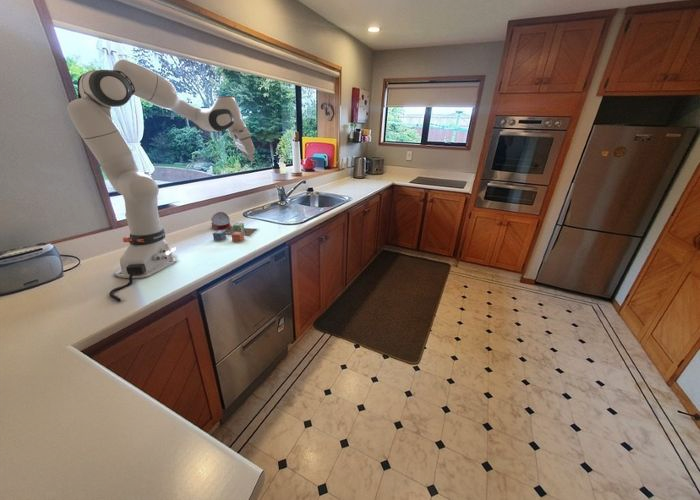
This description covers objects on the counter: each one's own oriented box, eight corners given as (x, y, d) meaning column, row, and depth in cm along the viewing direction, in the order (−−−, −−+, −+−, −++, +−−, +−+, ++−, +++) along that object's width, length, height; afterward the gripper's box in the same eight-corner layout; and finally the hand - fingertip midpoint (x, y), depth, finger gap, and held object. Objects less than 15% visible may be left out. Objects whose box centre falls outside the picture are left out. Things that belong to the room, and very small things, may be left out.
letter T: (222, 241, 146) (220, 233, 144) (214, 241, 146) (212, 233, 144) (226, 238, 150) (225, 230, 148) (218, 238, 150) (217, 230, 148)
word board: (249, 237, 153) (249, 236, 152) (219, 235, 154) (219, 234, 154) (258, 229, 164) (257, 228, 163) (229, 228, 165) (229, 227, 164)
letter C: (240, 242, 145) (239, 234, 144) (232, 242, 146) (231, 234, 144) (244, 239, 149) (243, 231, 148) (236, 239, 150) (235, 231, 148)
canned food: (230, 232, 171) (236, 219, 167) (221, 236, 161) (227, 222, 158) (214, 222, 170) (220, 209, 167) (204, 226, 161) (210, 211, 157)
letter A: (241, 233, 156) (240, 225, 155) (233, 232, 157) (232, 225, 155) (244, 230, 160) (243, 223, 159) (237, 230, 161) (236, 222, 159)
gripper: (226, 131, 143) (237, 157, 152) (238, 137, 129) (250, 165, 138) (238, 127, 146) (248, 153, 154) (251, 132, 132) (261, 161, 140)
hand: (249, 159), depth 146 cm, fingers open, 8 cm apart
